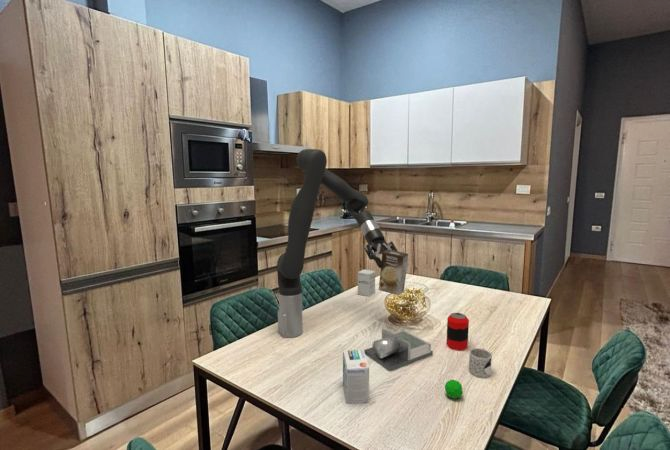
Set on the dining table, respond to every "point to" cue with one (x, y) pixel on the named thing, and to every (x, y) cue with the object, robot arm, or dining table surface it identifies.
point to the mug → (480, 363)
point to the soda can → (457, 331)
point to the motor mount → (398, 349)
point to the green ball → (453, 389)
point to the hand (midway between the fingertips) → (389, 265)
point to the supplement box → (366, 282)
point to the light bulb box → (355, 376)
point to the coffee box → (393, 272)
